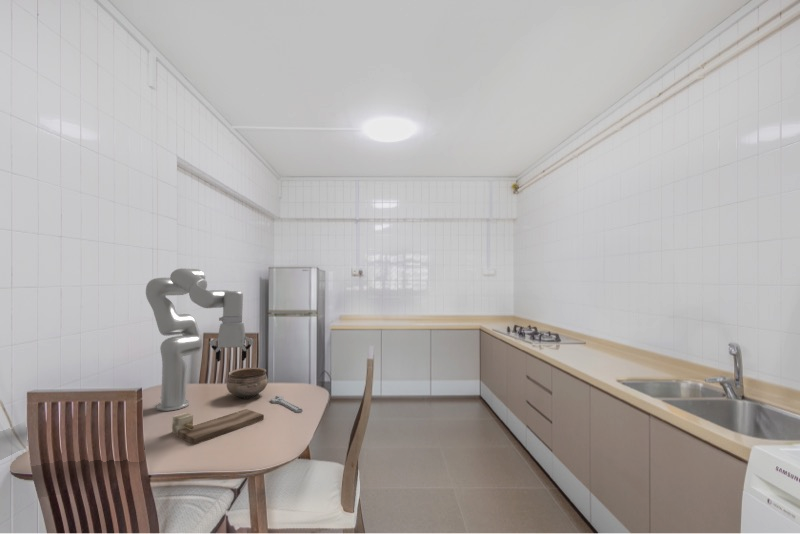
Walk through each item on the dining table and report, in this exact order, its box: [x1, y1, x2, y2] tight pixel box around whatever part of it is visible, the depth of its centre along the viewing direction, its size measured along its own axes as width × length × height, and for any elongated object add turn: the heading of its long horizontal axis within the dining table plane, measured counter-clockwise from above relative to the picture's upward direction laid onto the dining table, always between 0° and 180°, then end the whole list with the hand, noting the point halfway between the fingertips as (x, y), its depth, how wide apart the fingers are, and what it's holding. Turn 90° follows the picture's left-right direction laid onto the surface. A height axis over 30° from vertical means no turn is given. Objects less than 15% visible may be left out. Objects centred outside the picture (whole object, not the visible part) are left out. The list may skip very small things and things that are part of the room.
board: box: [177, 408, 265, 445], centre depth 141 cm, size 12×28×2 cm, turn 146°
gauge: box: [171, 412, 194, 436], centre depth 135 cm, size 10×5×6 cm, turn 56°
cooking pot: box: [226, 367, 269, 400], centre depth 179 cm, size 25×19×12 cm
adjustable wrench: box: [270, 395, 303, 414], centre depth 166 cm, size 25×6×2 cm, turn 41°
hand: (231, 360), depth 152 cm, fingers open, 9 cm apart
